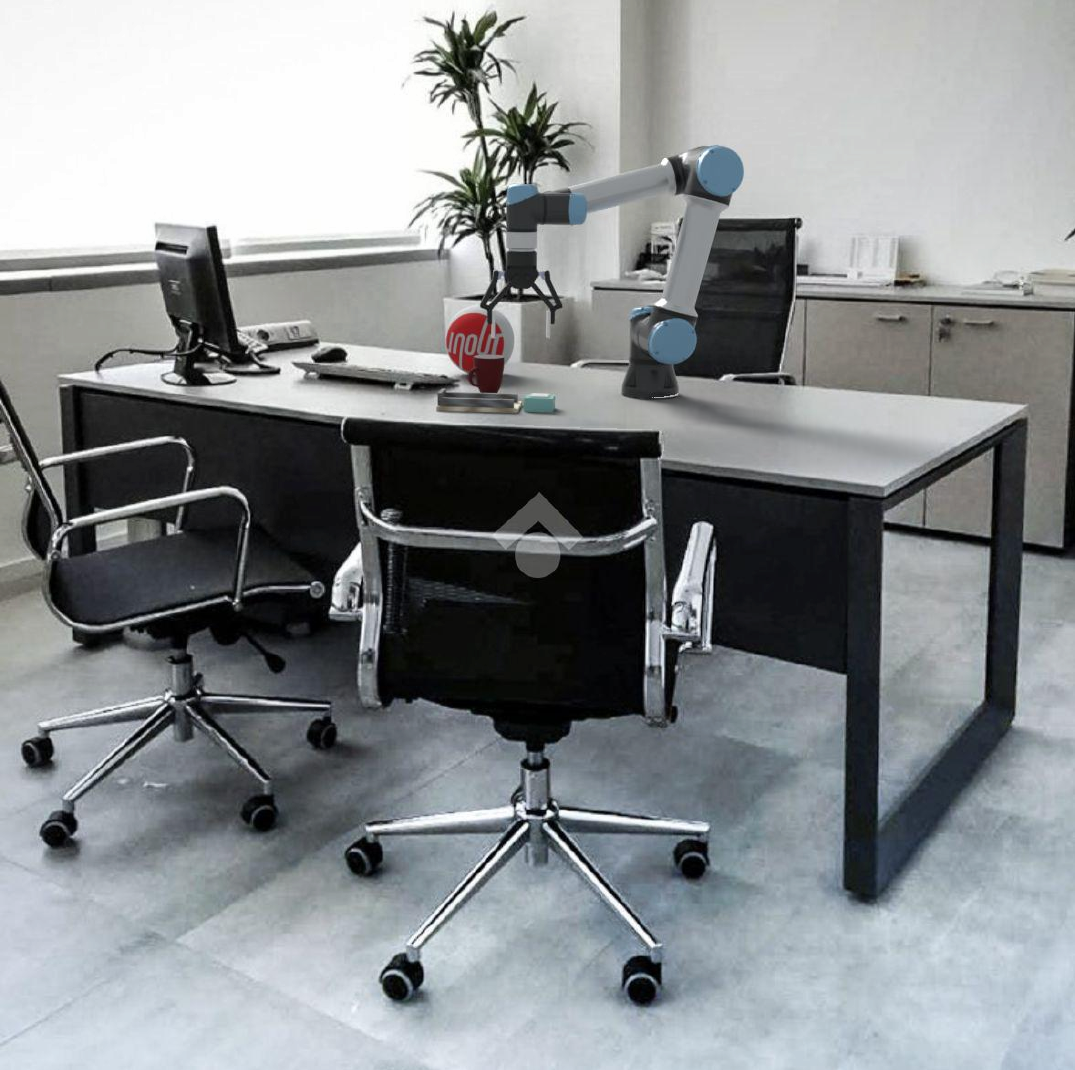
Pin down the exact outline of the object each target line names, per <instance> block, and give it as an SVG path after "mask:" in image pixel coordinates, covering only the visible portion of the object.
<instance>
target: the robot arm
mask: <svg viewBox="0 0 1075 1070" xmlns="http://www.w3.org/2000/svg"><path fill="white" fill-rule="evenodd" d="M744 168H745V167H744V164H743V161H742V158H741V156H739V154H738V153H737V152H736V151H734V150H733V149H732V148H730V147H727V146H724V145H719V144H713V145H709V146H708V145H701V146H697V147H695V148H694V147H693V148H692V149H688V150H686V151H684V152H681V153H678V154H675V155H672V156H670V157H669V156H668V157H665V158H663V159H662V160H661V162H660V163H658V164H654V165H650V166H646V167H642V168H638V169H635V170H630V171H626V172H622V173H618V174H614V175H611V176H606V177H603V178H599V179H598V178H597V179H594V180H591V181H587V182H586V181H585V182H584V183H579V184H575V185H570V186H568V187H562V188H560V189H556V190H553V191H552V190H547V191H543V192H539V189H538V188H539V187H538V186H537V184H531V183H530V184H529V183H528V184H521V183H520V184H519V183H517V184H516V183H515V184H510V185H508V186H507V188H506V202H505V210H506V213H505V214H506V215H505V216H506V221H505V222H506V223H505V224H506V225H505V228H506V233H505V237H506V238H505V245H506V246H505V248H506V249H508V250H506V252H505V270H498V269H494V270H493V272H492V277H491V278H492V279H491V280H490V283H489V285H488V287H487V289H486V291H485V292H484V294H483V297H482V299H481V301H480V303H479V305H480V307H481V308H482V309H485V310H487V323H488V324H492V330H491V337H492V338H495V310H493V308H496V306H497V305H498V304H499V302H501V300H502V299H503V298H504V297H505V296H506V294H507V293H509V291H510V290H511V288H513V289H515V290H519V289H523V290H529V289H530V288H532V290H533V291H534V292H535V293H536V295H538V297H539V298H540V299H541V300H542V301H543V303H544V304H545V306H547V308H548V309H549V310H546V312H545V313H546V314H545V315H546V316H545V318H546V319H545V323H546V324H545V326H546V327H545V328H546V329H545V338H546V339H551V325H555V322H556V311H557V310H559V309H560V310H561V309H562V308H563V307H564V306H563V303H562V301H561V299H560V297H559V295H558V292H557V291H556V289H555V287H554V284H553V283H552V280H551V273H550V270H548V269H544V270H541V271H539V270H538V252H537V250H536V249H537V248H538V225H540V226H544V225H550V226H577V225H583V224H584V223H585V222H586V219H587V215H588V214H591V213H595V212H600V211H604V210H608V209H611V208H615V207H619V206H623V205H627V204H631V203H634V202H638V201H643V200H646V199H650V198H655V197H659V196H663V195H669V196H671V197H675V196H679V195H682V196H683V198H684V200H685V202H686V207H685V211H684V215H683V217H682V222H681V226H680V229H679V232H678V237H677V240H676V242H675V243H676V244H675V247H674V251H673V254H672V259H671V263H670V265H669V270H668V273H667V276H666V280H665V284H664V287H663V291H662V294H661V298H660V299H659V300H657V301H656V302H654V303H653V305H652V306H645V307H634V308H633V309H632V310H631V311H630V318H629V323H630V324H629V325H630V326H629V327H630V328H629V350H628V351H629V354H628V355H629V357H628V361H629V362H628V367H627V370H626V373H625V375H624V378H623V380H622V384H621V394H622V395H623V396H625V397H630V398H634V397H638V398H637V399H645V398H652V397H653V398H654V397H664V396H670V395H675V394H677V393H679V390H680V387H679V383H678V380H677V376H676V373H675V368H674V365H678V364H681V363H682V362H685V361H686V360H687V359H688V358H689V357H691V355H692V354H693V353H694V352H695V348H696V347H697V346H696V345H697V342H698V341H697V339H698V337H697V334H696V330H695V328H696V325H697V322H698V318H699V315H698V313H697V311H696V309H695V305H696V302H697V298H698V295H699V291H700V287H701V284H702V280H703V277H704V274H705V270H706V267H707V263H708V260H709V256H710V253H711V250H712V249H711V248H712V245H713V242H714V238H715V235H716V231H717V228H718V223H719V220H720V217H721V214H722V212H724V211H725V210H727V209H728V208H729V207H730V204H731V200H732V197H733V193H735V192H736V191H737V190H738V189H739V187H740V186H741V184H742V183H743V179H744V177H745V176H744V175H745V169H744ZM502 277H504V278H505V279H506V281H507V282H505V284H504V285H503V287H502V288H501V289H500V291H499V292H498V293H497V294H496V295H495V297H494V298H493V299H492V300H491V301H490V303H489V304H488V301H489V300H490V298H491V296H492V294H493V292H494V290H495V287H496V285H497V283H498V280H501V279H502ZM539 277H540V278H541V280H543V281H544V282H545V284H546V286H547V288H548V290H549V292H550V295H551V297H552V300H553V301H554V304H553V303H552V301H550V299H549V298H548V297H547V296H546V295H545V294H544V292H543V291H542V290H541V288H539V286H538V285H537V284H536V283H535V282H537V281H536V280H537V279H538V278H539ZM679 394H680V393H679Z"/></svg>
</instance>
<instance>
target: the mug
mask: <svg viewBox="0 0 1075 1070" xmlns="http://www.w3.org/2000/svg"><path fill="white" fill-rule="evenodd" d="M504 371H505V365H504V356H501V355H476V356H474V368H472V369H471V370H470V371H469V374H468V373H467V381H468V383H469V385H471V386H473V387H477V389H478V390H479V393H498V392H499V390H500V389H501V386H502V382H503V378H504ZM474 372H475V375H473V374H474ZM473 376H475V382H476V383H475V382H474V381H473Z"/></svg>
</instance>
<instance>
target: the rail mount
mask: <svg viewBox="0 0 1075 1070" xmlns="http://www.w3.org/2000/svg"><path fill="white" fill-rule="evenodd" d="M518 397H519V395H518V393H505V392H504V393H498V392H497V393H480V392H465V391H463V392H461V391H447V388H444V387H443V388H441V389H440V390H439V391H438V392H437V405H436V407H435V409H436V412H437V411H439V412H465V411H469V412H471V413H477V412H478V413H499V414H500V413H503V414H504V413H505V414H508V413H509V414H518V413H519V411H520V409H521V408H522V406H523V401H522V400H518V399H519V398H518Z"/></svg>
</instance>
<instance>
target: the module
mask: <svg viewBox="0 0 1075 1070" xmlns="http://www.w3.org/2000/svg"><path fill="white" fill-rule="evenodd" d="M523 401H524V402H523V403H524V404H523V405H524V406H523V412H526V413H527V412H528V413H529V412H530V413H531V412H532V413H553V412H554V411H555V409H556V394H550V393H540V392H539V393H538V392H537V393H536V392H533V393H527V394H526V395H525V397H524V399H523Z"/></svg>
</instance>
